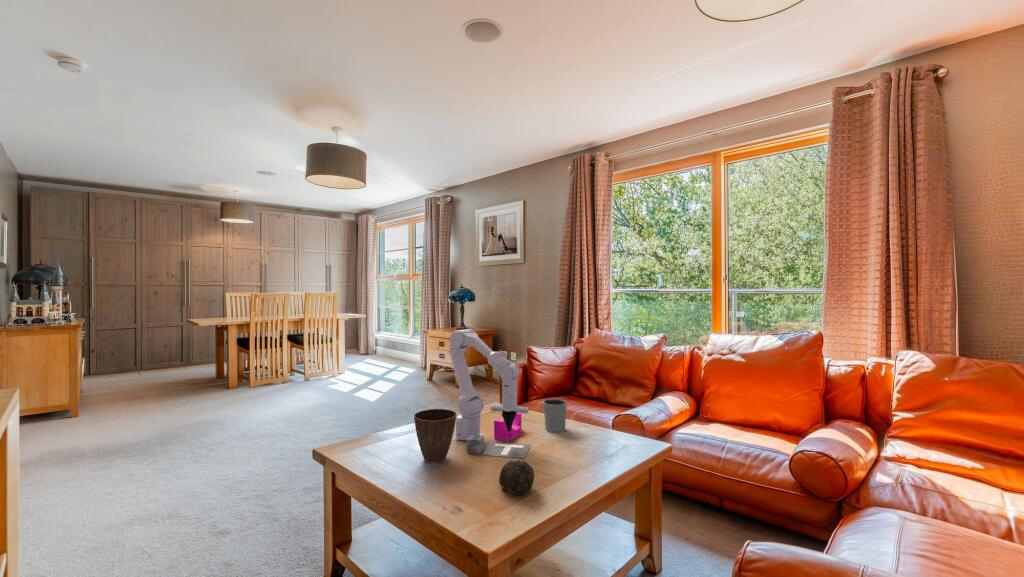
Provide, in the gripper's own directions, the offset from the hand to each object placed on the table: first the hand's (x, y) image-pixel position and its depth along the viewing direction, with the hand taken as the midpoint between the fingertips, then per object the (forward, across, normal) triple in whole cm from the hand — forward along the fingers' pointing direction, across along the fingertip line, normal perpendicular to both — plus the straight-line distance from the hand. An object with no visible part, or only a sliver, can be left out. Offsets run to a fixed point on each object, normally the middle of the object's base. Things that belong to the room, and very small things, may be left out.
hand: (509, 430), depth 172 cm
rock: (+6, +10, -37) cm, 39 cm away
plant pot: (+6, -23, -19) cm, 30 cm away
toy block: (+6, -2, +12) cm, 14 cm away
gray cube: (+6, -11, -8) cm, 15 cm away
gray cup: (+6, +15, +23) cm, 28 cm away
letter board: (+6, 0, -5) cm, 8 cm away
